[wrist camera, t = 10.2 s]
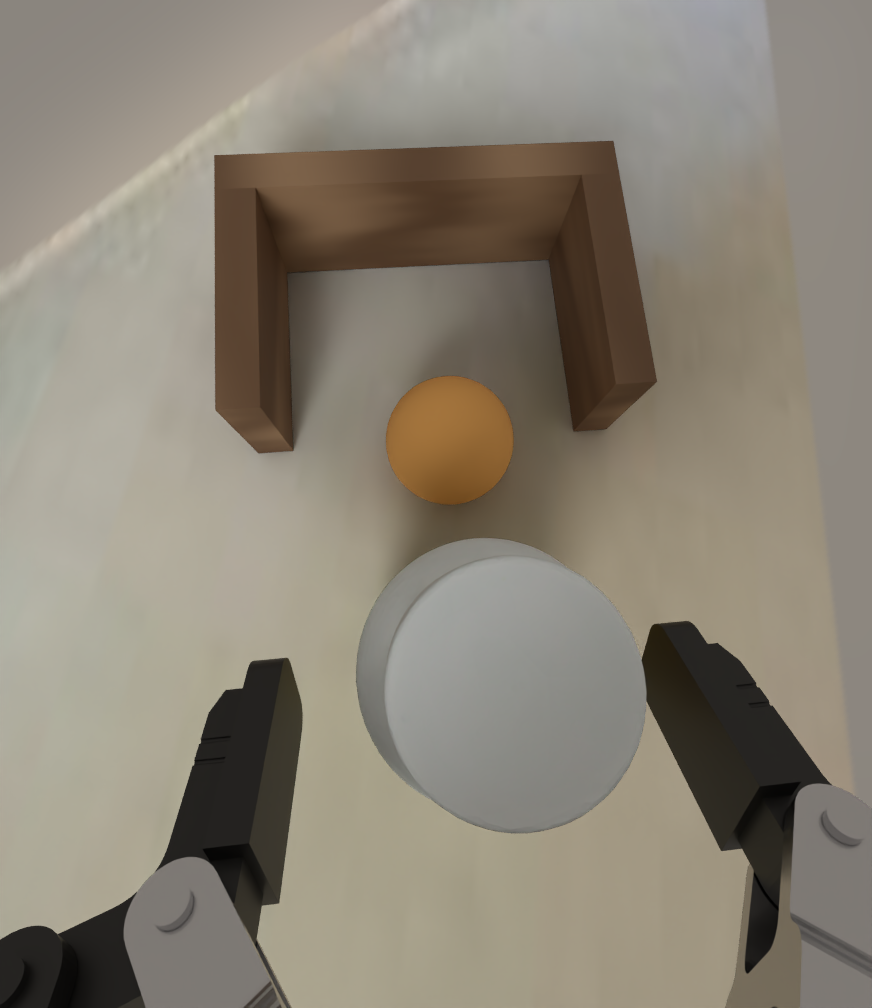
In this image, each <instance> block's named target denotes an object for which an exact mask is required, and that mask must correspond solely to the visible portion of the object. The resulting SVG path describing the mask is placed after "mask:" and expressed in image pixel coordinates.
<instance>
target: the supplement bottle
mask: <svg viewBox="0 0 872 1008" xmlns="http://www.w3.org/2000/svg"><path fill="white" fill-rule="evenodd" d="M356 684H357V692H358V699H359V705H360V709H361V713H362V716H363V719H364V722H365V725H366V728H367V730H368V732H369V734H370V736H371V738H372V741H373V742H374V744H375V746H376V748H377V749H378V751H379V753H380V754H381V756H382V757H383V758H384V760H385V761H386V762H387V764H388V765H389V766H390V767H391V769H392V770H393V771H394V772H395V773H396V774H397V775H398V776H399V777H400V778H401V779H402V780H403V781H405V782H406V783H407V784H408V785H409V786H410V787H412V788H413V789H414V790H416V791H417V792H419V793H421V794H422V795H424V796H425V797H427V798H429V799H431V800H433V801H434V802H435V803H437V804H438V805H439V806H441V807H442V808H444V809H445V810H447V811H448V812H450V813H451V814H453V815H454V816H456V817H457V818H459V819H462V820H464V821H466V822H468V823H470V824H473V825H476V826H479V827H482V828H485V829H488V830H493V831H498V832H506V833H532V832H540V831H544V830H548V829H552V828H556V827H559V826H562V825H564V824H567V823H570V822H572V821H574V820H576V819H577V818H579V817H581V816H583V815H584V814H586V813H587V812H589V811H590V810H592V809H593V808H594V807H595V806H596V805H598V804H599V803H600V802H601V801H602V800H604V799H605V798H606V797H607V796H608V795H609V793H610V792H611V791H612V790H613V789H614V788H615V787H616V786H617V784H618V783H619V781H620V780H621V778H622V777H623V775H624V774H625V772H626V771H627V769H628V768H629V766H630V763H631V761H632V759H633V757H634V755H635V753H636V751H637V748H638V746H639V742H640V738H641V734H642V731H643V726H644V720H645V712H646V683H645V675H644V668H643V664H642V660H641V657H640V653H639V651H638V648H637V645H636V643H635V640H634V637H633V635H632V632H631V631H630V629H629V627H628V626H627V624H626V623H625V621H624V619H623V618H622V616H621V615H620V613H619V612H618V610H617V609H616V608H615V606H614V605H613V604H612V603H611V601H610V600H609V599H608V598H607V597H606V596H605V595H604V593H603V592H602V591H600V590H599V589H598V588H597V587H596V586H594V585H593V584H592V583H591V582H590V581H588V580H587V579H586V578H584V577H583V576H581V575H579V574H578V573H576V572H574V571H572V570H571V569H569V568H567V567H566V566H565V565H564V564H562V563H561V562H559V561H558V560H556V559H555V558H553V557H552V556H550V555H548V554H547V553H545V552H543V551H541V550H538V549H536V548H534V547H532V546H529V545H526V544H523V543H519V542H515V541H511V540H506V539H497V538H472V539H466V540H460V541H455V542H452V543H448V544H445V545H442V546H440V547H437V548H435V549H433V550H431V551H429V552H427V553H425V554H423V555H422V556H420V557H418V558H417V559H415V560H414V561H412V562H411V563H410V564H408V565H407V566H406V567H405V568H404V569H403V570H401V571H400V572H399V573H398V574H397V575H396V576H395V577H394V578H393V579H392V580H391V581H390V582H389V583H388V585H387V586H386V587H385V589H384V590H383V591H382V593H381V594H380V596H379V597H378V599H377V600H376V602H375V604H374V606H373V607H372V609H371V611H370V613H369V615H368V618H367V620H366V623H365V626H364V628H363V632H362V635H361V638H360V643H359V648H358V654H357V665H356Z"/></svg>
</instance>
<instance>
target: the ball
mask: <svg viewBox="0 0 872 1008" xmlns="http://www.w3.org/2000/svg"><path fill="white" fill-rule="evenodd" d="M513 443H514V437H513V428H512V424H511V420H510V417H509V415H508V413H507V411H506V409H505V407H504V405H503V404H502V402H501V401H500V400H499V399H498V397H497V396H496V395H495V394H494V393H493V392H492V391H490V390H489V389H488V388H486V387H485V386H483V385H482V384H480V383H478V382H476V381H474V380H471V379H468V378H464V377H459V376H442V377H436V378H432V379H429V380H426V381H424V382H422V383H420V384H418V385H416V386H415V387H413V388H412V389H411V390H409V391H408V392H407V393H406V394H405V395H404V396H403V397H402V398H401V399H400V401H399V402H398V403H397V405H396V407H395V408H394V410H393V412H392V414H391V417H390V420H389V423H388V426H387V433H386V449H387V454H388V458H389V462H390V464H391V466H392V469H393V471H394V472H395V474H396V476H397V477H398V479H399V480H400V481H401V482H402V483H403V485H404V486H405V487H406V488H407V489H409V490H410V491H411V492H413V493H414V494H415V495H417V496H419V497H421V498H423V499H425V500H427V501H430V502H434V503H439V504H447V505H452V504H461V503H465V502H469V501H472V500H474V499H477V498H479V497H481V496H482V495H484V494H485V493H487V492H488V491H489V490H491V489H492V488H493V487H494V486H495V485H496V484H497V483H498V481H499V480H500V479H501V478H502V476H503V475H504V473H505V471H506V469H507V467H508V465H509V463H510V460H511V456H512V452H513Z"/></svg>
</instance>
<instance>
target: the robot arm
mask: <svg viewBox="0 0 872 1008" xmlns="http://www.w3.org/2000/svg"><path fill="white" fill-rule="evenodd" d="M642 664H643V668H644V675H645V683H646V701H647V703H648V705H649V707H650V709H651V711H652V713H653V715H654V717H655V719H656V721H657V723H658V725H659V727H660V729H661V731H662V733H663V735H664V737H665V739H666V741H667V743H668V745H669V747H670V749H671V751H672V753H673V755H674V757H675V759H676V761H677V763H678V765H679V767H680V769H681V771H682V773H683V775H684V777H685V779H686V781H687V783H688V785H689V787H690V789H691V791H692V793H693V795H694V797H695V799H696V801H697V803H698V805H699V807H700V809H701V811H702V813H703V815H704V817H705V819H706V821H707V823H708V825H709V827H710V829H711V831H712V833H713V835H714V837H715V839H716V841H717V844H718V846H719V848H720V850H721V851H726V850H734V849H743V851H744V853H745V855H746V857H747V859H748V860H749V862H750V864H749V866H748V870H747V875H746V884H745V893H744V902H743V911H742V920H741V929H740V938H739V947H738V956H737V965H736V972H735V978H734V982H733V985H732V989H731V991H730V994H729V996H728V999H727V1003H726V1006H725V1008H872V809H871V808H870V807H869V806H868V805H867V804H866V803H864V802H863V801H862V800H860V799H859V798H858V797H856V796H854V795H853V794H851V793H849V792H847V791H845V790H843V789H841V788H838V787H835V786H832V785H831V784H830V783H829V782H828V781H827V779H826V778H825V777H824V776H823V774H822V773H821V772H820V770H819V769H818V768H817V766H816V765H815V764H814V762H813V761H812V759H811V758H810V757H809V755H808V754H807V753H806V751H805V750H804V748H803V747H802V746H801V744H800V743H799V742H798V740H797V739H796V737H795V736H794V735H793V733H792V732H791V730H790V729H789V728H788V726H787V725H786V724H785V722H784V721H783V719H782V718H781V717H780V715H779V714H778V713H777V711H776V710H775V708H774V707H773V706H770V704H769V700H768V699H767V697H766V696H765V695H764V693H763V692H762V690H761V689H760V688H759V687H757V686H756V682H755V681H754V679H753V678H752V677H751V675H750V674H749V672H748V671H747V670H746V668H745V667H744V666H743V664H742V663H741V661H739V660H738V659H737V658H736V657H734V656H733V655H732V654H731V653H729V652H728V651H727V650H726V649H724V648H723V647H722V646H720V645H719V644H718V643H714V644H707V643H706V641H705V640H704V638H703V637H702V635H701V634H700V632H699V631H698V629H697V628H696V627H695V625H693V624H692V623H691V622H689V621H682V622H671V623H661V624H654V625H653V626H652V627H651V629H650V632H649V636H648V639H647V643H646V646H645V650H644V653H643V657H642ZM301 733H302V704H301V699H300V695H299V692H298V688H297V685H296V681H295V678H294V674H293V671H292V667H291V664H290V661H289V659H288V658H280V659H269V660H259V661H252V662H251V663H250V665H249V667H248V670H247V674H246V678H245V682H244V686H243V688H242V689H232V690H225V692H224V693H223V694H222V696H221V697H220V699H219V700H218V701H217V703H216V704H215V705H214V707H213V708H212V709H211V711H210V712H209V714H208V717H207V720H206V724H205V727H204V730H203V734H202V737H201V744H199V747H198V750H197V753H196V757H195V760H194V761H195V764H194V766H192V770H191V773H190V776H189V780H188V783H187V786H186V789H185V793H184V796H183V799H182V803H181V806H180V809H179V812H178V816H177V819H176V822H175V826H174V829H173V832H172V835H171V839H170V842H169V845H168V848H167V851H166V853H165V856H164V858H163V860H162V862H161V864H160V865H159V867H158V868H157V870H156V871H155V873H154V874H153V875H151V876H150V877H149V878H148V879H147V881H146V882H145V883H144V884H143V885H142V886H141V888H140V889H139V890H138V892H136V893H135V894H134V895H133V896H132V897H130V898H129V899H128V900H126V901H125V902H123V903H122V904H120V905H118V906H116V907H114V908H113V909H110V910H108V911H106V912H104V913H102V914H100V915H98V916H96V917H94V918H91V919H89V920H87V921H85V922H83V923H81V924H79V925H77V926H75V927H72V928H70V929H68V930H66V931H64V932H62V933H60V934H57V933H55V932H54V931H53V930H52V929H50V928H47V927H44V926H30V927H26V928H23V929H20V930H17V931H15V932H13V933H11V934H9V935H7V936H6V937H4V938H2V939H1V940H0V1008H292V1007H291V1005H290V1003H289V1001H288V999H287V997H286V995H285V993H284V991H283V989H282V987H281V985H280V983H279V981H278V979H277V977H276V975H275V973H274V971H273V969H272V967H271V965H270V963H269V961H268V959H267V957H266V955H265V953H264V951H263V949H262V947H261V945H260V943H259V942H258V940H257V932H258V926H259V919H260V913H261V907H262V905H270V904H278V903H279V900H280V892H281V885H282V877H283V870H284V862H285V854H286V847H287V839H288V832H289V824H290V817H291V809H292V801H293V794H294V786H295V779H296V771H297V764H298V756H299V748H300V741H301Z"/></svg>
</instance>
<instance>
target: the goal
mask: <svg viewBox="0 0 872 1008" xmlns="http://www.w3.org/2000/svg"><path fill="white" fill-rule="evenodd" d="M214 162H215V410H216V411H217V412H218V413H219V414H220V415H221V416H222V417H223V418H224V419H225V420H226V421H227V422H228V423H229V424H230V425H231V426H232V427H233V428H234V429H235V430H236V431H237V432H238V433H239V434H240V435H241V436H242V437H243V438H244V439H245V440H246V441H247V442H248V443H249V444H250V445H251V446H252V447H253V448H254V449H255V450H256V451H257V452H258V453H268V452H283V451H293V427H292V398H291V368H290V339H289V310H288V281H287V272H306V271H326V270H346V269H366V268H387V267H407V266H427V265H447V264H467V263H488V262H508V261H528V260H548V259H549V265H550V272H551V279H552V285H553V292H554V299H555V306H556V313H557V320H558V327H559V334H560V341H561V348H562V354H563V361H564V368H565V375H566V382H567V389H568V396H569V403H570V410H571V416H572V423H573V430H574V431H585V430H599V429H607V428H608V427H609V426H610V425H611V424H612V423H613V422H614V421H615V420H616V419H617V418H618V417H620V416H621V415H622V414H623V413H624V412H625V411H626V410H627V409H628V408H629V407H630V406H631V405H632V404H633V403H635V402H636V401H637V400H638V399H639V398H640V397H641V396H642V395H643V394H644V393H645V392H646V391H647V390H648V389H650V388H651V387H652V386H653V385H654V384H655V383H656V382H657V379H656V374H655V368H654V363H653V357H652V352H651V346H650V341H649V335H648V330H647V324H646V319H645V313H644V308H643V302H642V297H641V291H640V286H639V280H638V275H637V269H636V264H635V258H634V253H633V247H632V242H631V236H630V231H629V225H628V220H627V214H626V209H625V203H624V198H623V192H622V187H621V181H620V176H619V170H618V164H617V159H616V153H615V148H614V142H613V141H597V142H570V143H542V144H514V145H487V146H459V147H431V148H403V149H376V150H348V151H320V152H293V153H265V154H237V155H214Z"/></svg>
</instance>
